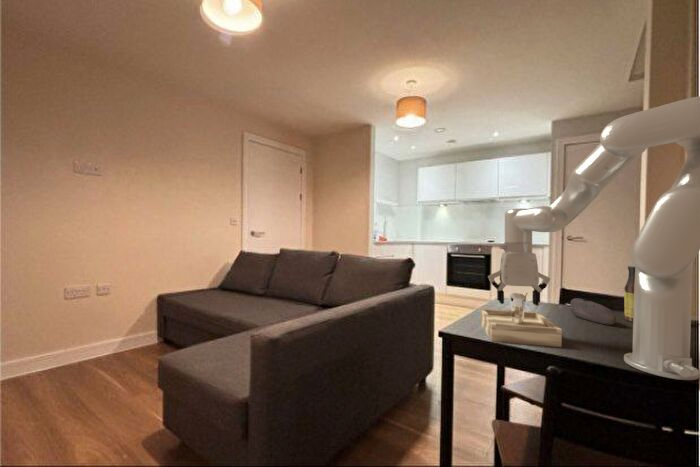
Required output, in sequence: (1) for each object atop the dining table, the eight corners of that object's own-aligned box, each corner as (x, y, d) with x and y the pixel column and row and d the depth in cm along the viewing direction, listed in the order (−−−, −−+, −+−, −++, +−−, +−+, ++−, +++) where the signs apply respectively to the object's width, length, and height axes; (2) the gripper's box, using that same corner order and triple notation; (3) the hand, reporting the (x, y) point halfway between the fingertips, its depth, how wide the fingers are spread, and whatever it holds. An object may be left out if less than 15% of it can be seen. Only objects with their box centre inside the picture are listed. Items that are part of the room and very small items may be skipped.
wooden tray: (561, 349, 86) (561, 329, 85) (491, 342, 90) (491, 324, 90) (537, 329, 103) (538, 312, 103) (480, 324, 107) (480, 308, 107)
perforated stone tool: (621, 327, 104) (622, 306, 104) (609, 328, 103) (609, 307, 103) (579, 315, 118) (579, 297, 118) (568, 315, 117) (568, 297, 117)
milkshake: (520, 326, 93) (522, 293, 92) (505, 321, 97) (506, 289, 97) (530, 324, 95) (532, 292, 94) (515, 319, 99) (516, 288, 99)
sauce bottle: (638, 319, 114) (639, 265, 113) (653, 324, 108) (654, 267, 107) (618, 318, 114) (620, 264, 114) (632, 323, 108) (634, 266, 108)
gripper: (490, 248, 94) (490, 305, 94) (554, 249, 90) (554, 308, 90) (485, 247, 102) (485, 299, 102) (544, 248, 98) (544, 302, 98)
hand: (518, 303), depth 96 cm, fingers open, 9 cm apart
